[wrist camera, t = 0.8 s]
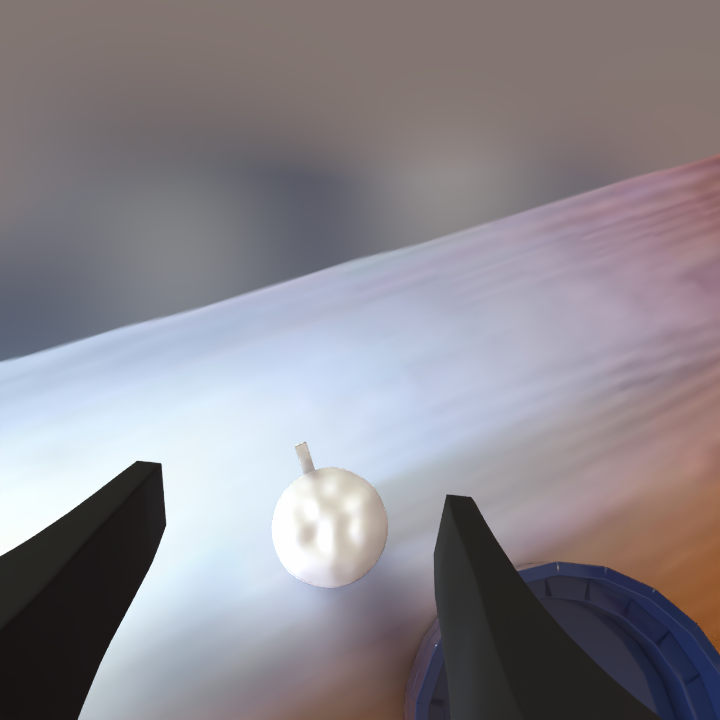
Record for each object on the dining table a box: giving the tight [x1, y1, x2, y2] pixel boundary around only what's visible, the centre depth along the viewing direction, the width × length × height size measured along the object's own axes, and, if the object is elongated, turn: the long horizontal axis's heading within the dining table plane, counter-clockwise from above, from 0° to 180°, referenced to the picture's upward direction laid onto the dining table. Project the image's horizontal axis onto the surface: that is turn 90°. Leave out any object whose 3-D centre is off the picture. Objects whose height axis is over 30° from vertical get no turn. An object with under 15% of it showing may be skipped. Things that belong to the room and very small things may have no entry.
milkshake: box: [272, 442, 388, 588], centre depth 25 cm, size 4×5×10 cm
